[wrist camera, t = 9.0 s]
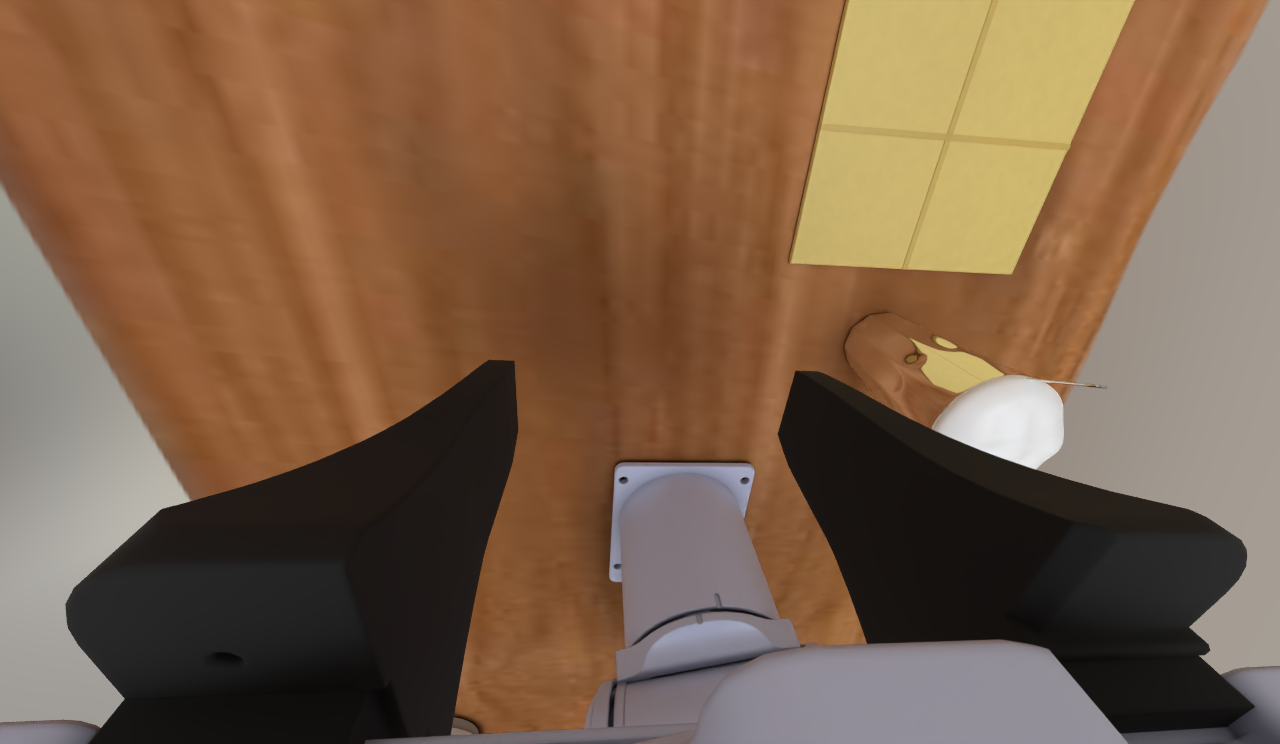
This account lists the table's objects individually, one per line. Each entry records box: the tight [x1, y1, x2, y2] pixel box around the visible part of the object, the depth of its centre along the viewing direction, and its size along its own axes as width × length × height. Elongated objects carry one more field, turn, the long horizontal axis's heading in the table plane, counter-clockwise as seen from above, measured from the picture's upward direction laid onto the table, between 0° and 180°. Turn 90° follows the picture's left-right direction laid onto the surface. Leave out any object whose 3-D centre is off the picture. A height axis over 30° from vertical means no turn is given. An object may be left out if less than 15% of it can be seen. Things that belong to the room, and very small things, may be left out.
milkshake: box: [844, 312, 1109, 470], centre depth 19 cm, size 4×5×10 cm
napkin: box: [789, 0, 1135, 275], centre depth 19 cm, size 11×11×1 cm
